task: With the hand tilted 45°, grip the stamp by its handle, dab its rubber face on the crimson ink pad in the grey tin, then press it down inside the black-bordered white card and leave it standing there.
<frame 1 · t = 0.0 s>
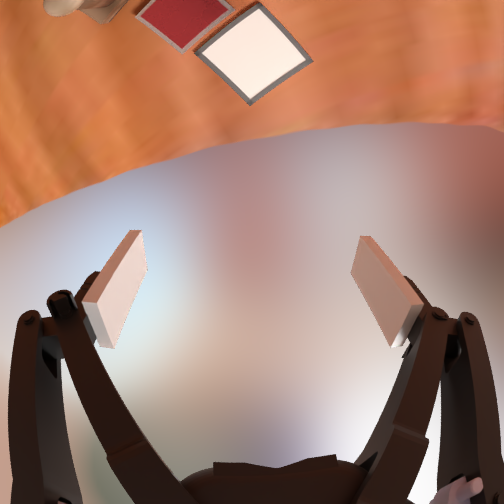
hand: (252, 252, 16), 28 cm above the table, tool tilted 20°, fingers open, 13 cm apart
ink pad: (185, 11, 24), on the table
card: (254, 53, 29), on the table
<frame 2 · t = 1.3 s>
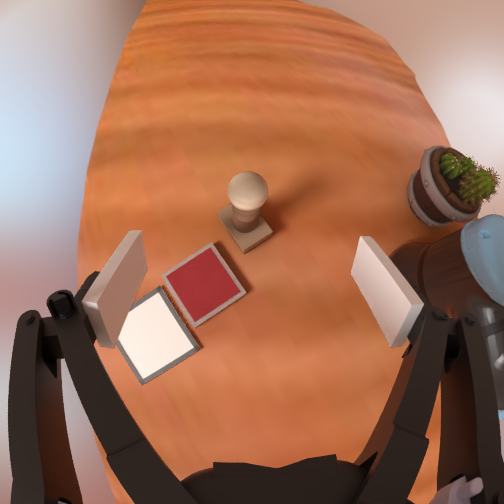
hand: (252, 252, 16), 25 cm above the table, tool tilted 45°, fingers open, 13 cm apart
flowerpot: (425, 203, 47), on the table
ink pad: (203, 285, 40), on the table
stamp: (244, 228, 43), on the table
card: (150, 336, 38), on the table
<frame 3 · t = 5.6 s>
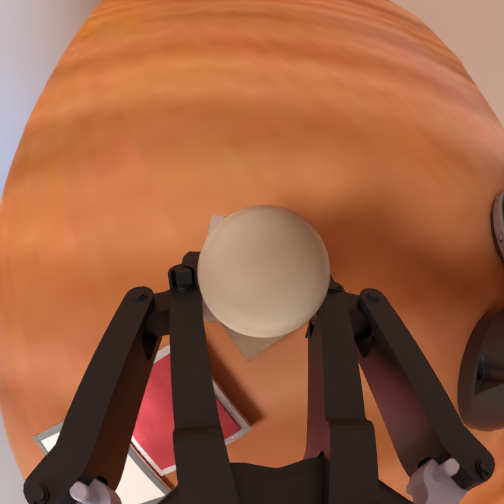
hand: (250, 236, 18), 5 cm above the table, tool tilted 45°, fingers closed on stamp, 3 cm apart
ink pad: (172, 409, 19), on the table
stamp: (246, 302, 22), on the table, touching gripper
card: (98, 469, 16), on the table
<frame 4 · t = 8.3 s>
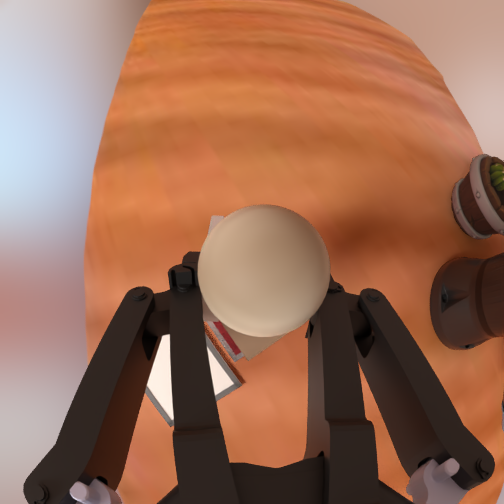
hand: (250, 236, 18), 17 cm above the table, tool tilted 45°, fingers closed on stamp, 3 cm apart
flowerpot: (466, 213, 41), on the table
ink pad: (244, 310, 34), on the table
stamp: (246, 302, 22), point 13 cm above the table, touching gripper
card: (179, 371, 31), on the table
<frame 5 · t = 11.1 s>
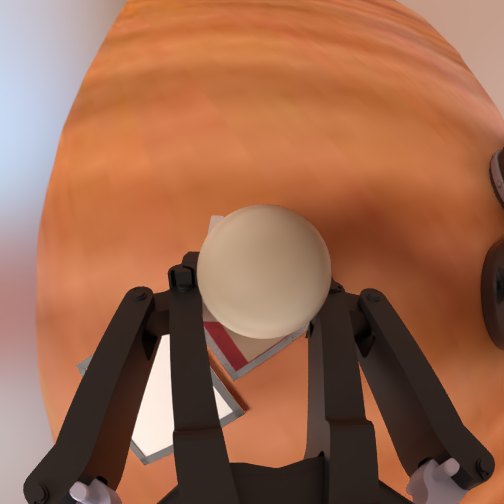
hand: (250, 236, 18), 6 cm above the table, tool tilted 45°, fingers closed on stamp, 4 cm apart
ink pad: (247, 304, 23), on the table
stamp: (247, 303, 21), point 1 cm above the table, touching gripper, ink pad
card: (154, 392, 20), on the table
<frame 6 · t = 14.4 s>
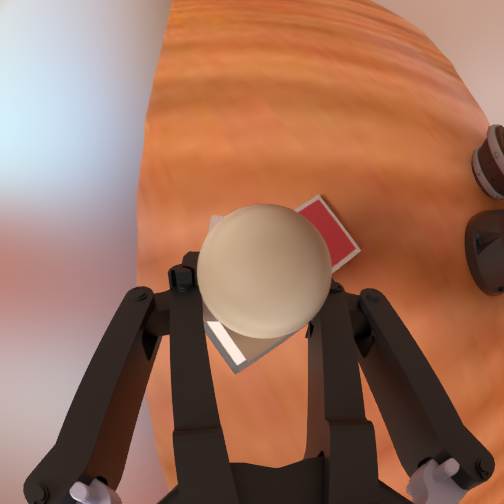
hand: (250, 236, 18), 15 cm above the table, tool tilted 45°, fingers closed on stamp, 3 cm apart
flowerpot: (485, 178, 41), on the table
ink pad: (311, 243, 34), on the table
stamp: (246, 302, 21), point 11 cm above the table, touching gripper
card: (247, 308, 32), on the table
when the fingers open (5 cm above the table, at t = 16.9 s): stamp stays where it is, resting on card.
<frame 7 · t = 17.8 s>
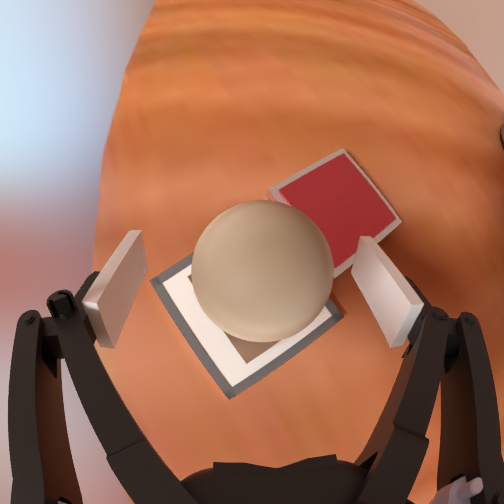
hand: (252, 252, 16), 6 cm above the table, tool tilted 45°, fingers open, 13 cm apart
ink pad: (336, 210, 24), on the table
stamp: (245, 302, 21), resting on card
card: (246, 301, 21), on the table
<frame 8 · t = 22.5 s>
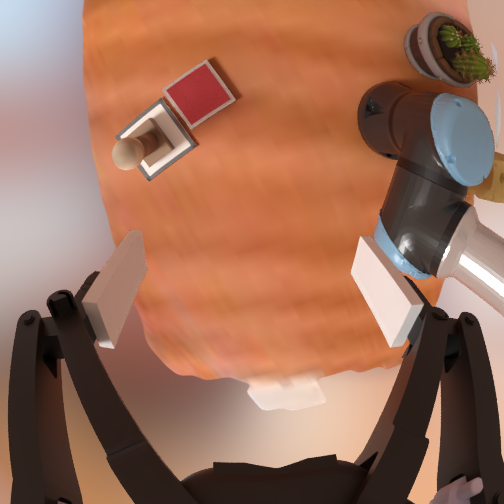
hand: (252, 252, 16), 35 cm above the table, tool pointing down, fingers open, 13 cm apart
flowerpot: (422, 52, 36), on the table
ink pad: (199, 94, 41), on the table
cheese: (476, 168, 48), on the table
stamp: (153, 141, 44), resting on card
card: (154, 140, 44), on the table
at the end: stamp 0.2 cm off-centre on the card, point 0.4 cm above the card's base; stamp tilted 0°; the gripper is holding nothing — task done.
